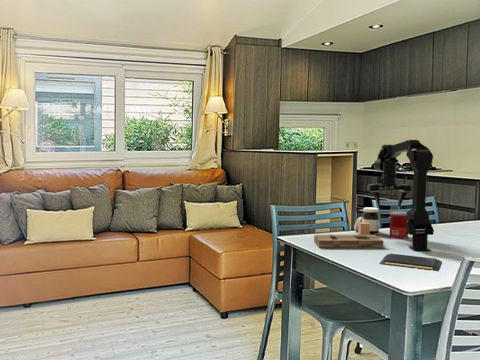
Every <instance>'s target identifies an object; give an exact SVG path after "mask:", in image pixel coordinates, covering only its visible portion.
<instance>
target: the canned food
mask: <svg viewBox="0 0 480 360" xmlns="http://www.w3.org/2000/svg"><path fill="white" fill-rule="evenodd" d="M389 214H390V215H389V237H390V238H393V239H407V238H408V237H409V234H408V232H407V226H406V218H407V211H400V210H399V211H396V210H395V211H390V213H389Z"/></svg>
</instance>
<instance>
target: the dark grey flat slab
mask: <svg viewBox="0 0 480 360" xmlns="http://www.w3.org/2000/svg"><path fill="white" fill-rule="evenodd" d="M378 264H379V265H381V266H390V267H391V266H393V267H399V268H400V267H401V268H406V267H407V268H408V269H415V268H417V269H416V270H423V269H424V270H425V271H431V270H433V271H432V272H439V271H440V269H441V267H442V264H443V261H442V260H440V259H437V258H433V257H426V256H424V257H423V256H418V255H417V256H416V255H408V254H397V253H391V252H390V253H387V254H386V255H384V257H383V258H382V259H381V261H380V262H379V263H378Z"/></svg>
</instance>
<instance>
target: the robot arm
mask: <svg viewBox="0 0 480 360" xmlns="http://www.w3.org/2000/svg"><path fill="white" fill-rule="evenodd" d="M402 153H406V157H407V158H408V160H409V166H410V168H411V170H412V171H413V180H412V182H413V184H412V185H411V184H408V183H407V184H406V183H405V184H404V183H400V184H399V185H397V177H398V175H397V163H399V160H398V159H397V157H399V156H401V154H402ZM433 159H434V155H433V152H432V151H431V150H430V149H429V148H428V147H427V146H426V145H424V144H422V143H421V142H420V140H419V139H406V140H404V141H401V142H398V143H394V144H383V145H381V148H380V150H379V152H378V154H377V158H376V160H375V161H374V162H373V168H374V170H375V171H376V172H377V171H378V172H382V174H381V175H382V176H375V183H368V184H367V185H366V190H367V191H368V192H370V193H372V194H373V197H374V199H375V202H376V206H377V208H379V207H380V204H381V202H380V191H381V190H382V191H383V190H385V191H386V190H387V191H388V190H389V191H390V190H391V191H393V190H395V191H396V190H397V191H398V200H397V207H398V208H400V207H401V205H402V203H403V200H404V199H405V197H406V195H407V194H409V193H410V192H412V199H411V200H412V201H411V203H412V204H411V208H410V210H407V211H406V212H407V218H406V226H407V232H408V236H409V235H411V236H412V240H411V242H412V243H411V245H409V246H408V248H409V249H411V250H412V251H417V252H418V251H419V252H429V251H430V252H431V250H432V249H430V248H429V247H428V238H429V236H431V235H432V236H433V234H434V232H435V230H434V228H433V225H432V223H431V221H430V214H429V213H428V211H427V209H426V200H427V199H426V198H427V180H428V172H429V171H430V169H431V168H432V165H433Z"/></svg>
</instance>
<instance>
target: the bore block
mask: <svg viewBox="0 0 480 360" xmlns="http://www.w3.org/2000/svg"><path fill="white" fill-rule="evenodd" d="M313 237H314V238H313V241H314V243H315V244H316V246H317V247H318V249H383V248H384V240H383V239H382V238H380V237H379V236H378V235H377V234H370V235H358V234H314V235H313Z"/></svg>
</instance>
